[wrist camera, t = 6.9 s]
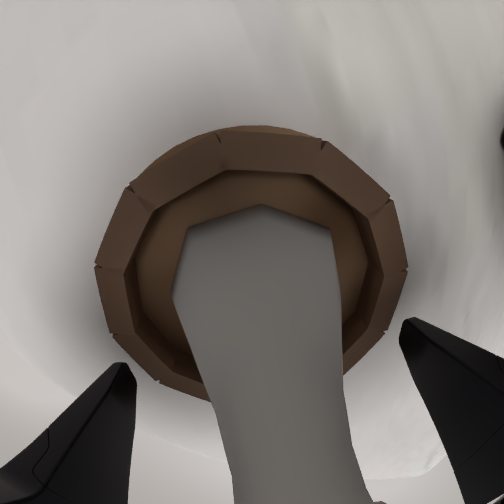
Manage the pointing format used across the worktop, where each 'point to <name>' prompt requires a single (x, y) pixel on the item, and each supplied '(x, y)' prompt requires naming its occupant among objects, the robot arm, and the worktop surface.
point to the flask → (271, 354)
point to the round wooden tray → (231, 200)
